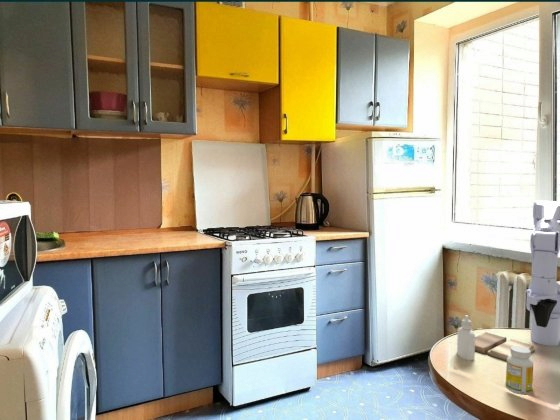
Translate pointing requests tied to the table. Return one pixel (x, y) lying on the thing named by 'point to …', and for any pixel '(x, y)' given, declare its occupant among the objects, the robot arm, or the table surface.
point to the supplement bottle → (519, 370)
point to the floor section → (488, 342)
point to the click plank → (508, 349)
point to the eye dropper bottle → (466, 340)
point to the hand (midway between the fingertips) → (541, 326)
